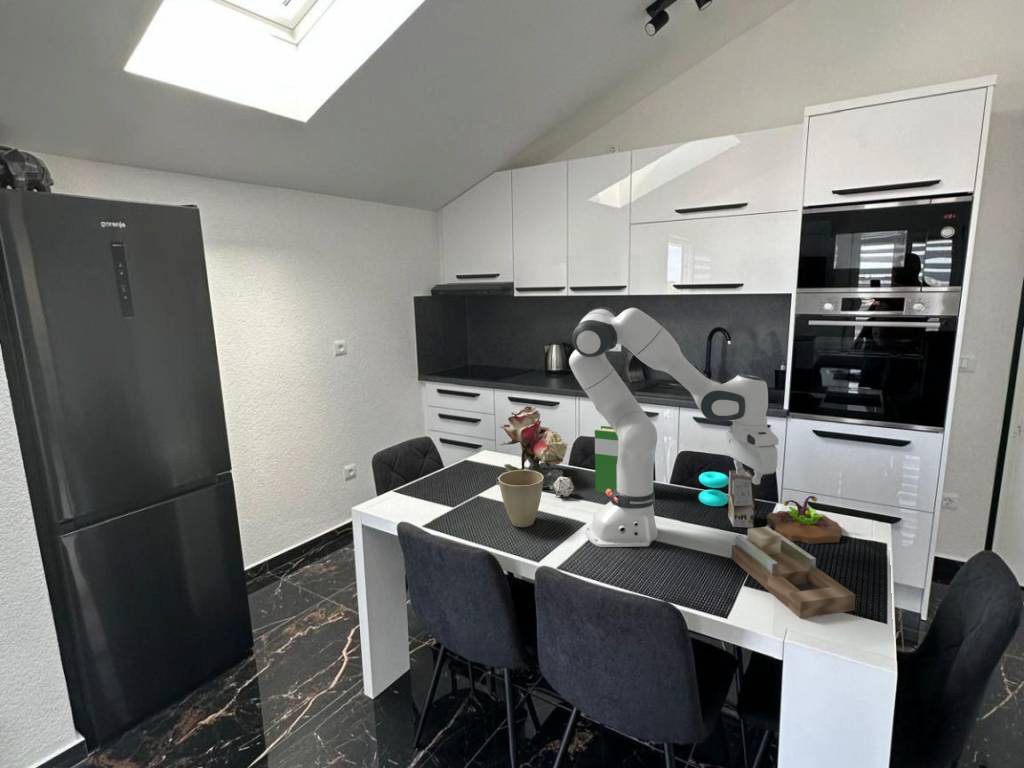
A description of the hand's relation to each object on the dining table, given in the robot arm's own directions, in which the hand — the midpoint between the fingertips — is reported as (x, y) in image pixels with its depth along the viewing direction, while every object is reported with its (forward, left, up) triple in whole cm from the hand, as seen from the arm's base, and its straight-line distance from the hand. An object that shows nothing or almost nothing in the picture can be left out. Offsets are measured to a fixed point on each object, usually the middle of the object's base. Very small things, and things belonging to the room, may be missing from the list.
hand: (747, 479), depth 153 cm
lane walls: (0, -13, -17) cm, 21 cm away
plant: (+25, +7, -22) cm, 34 cm away
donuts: (+9, +34, -22) cm, 41 cm away
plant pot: (-60, +33, -22) cm, 72 cm away
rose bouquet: (-47, +75, -22) cm, 91 cm away
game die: (-41, +52, -22) cm, 70 cm away
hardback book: (-19, +52, -22) cm, 59 cm away
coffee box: (+9, +17, -22) cm, 29 cm away
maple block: (0, -9, -17) cm, 19 cm away
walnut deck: (0, -19, -21) cm, 29 cm away
